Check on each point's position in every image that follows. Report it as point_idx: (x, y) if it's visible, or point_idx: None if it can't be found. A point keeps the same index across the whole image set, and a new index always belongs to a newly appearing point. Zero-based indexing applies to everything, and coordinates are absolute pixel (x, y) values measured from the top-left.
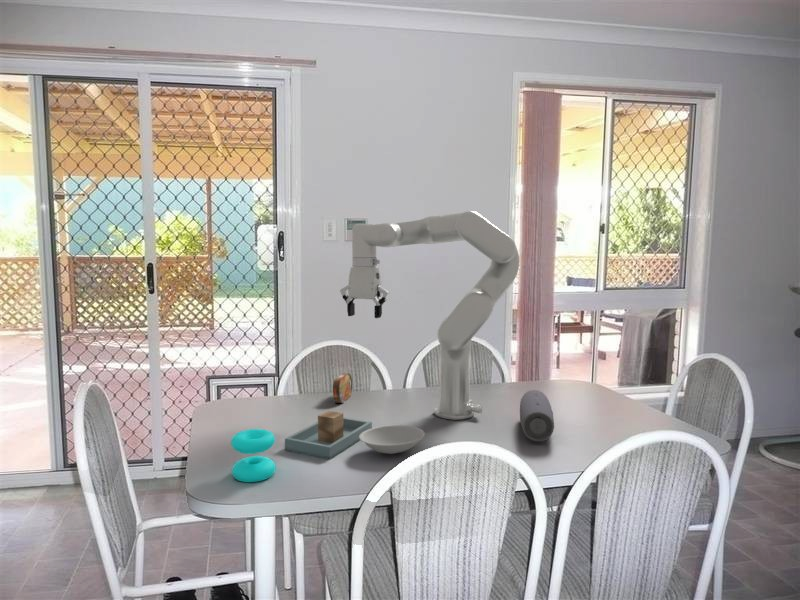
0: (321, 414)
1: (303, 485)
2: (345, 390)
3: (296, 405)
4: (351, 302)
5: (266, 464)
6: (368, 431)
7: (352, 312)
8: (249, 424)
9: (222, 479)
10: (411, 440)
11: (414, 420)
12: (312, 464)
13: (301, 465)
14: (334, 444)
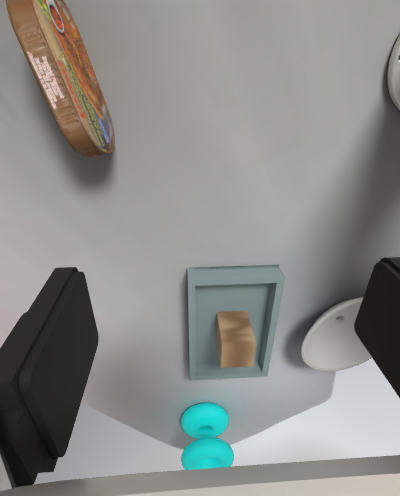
0: (223, 362)
1: (267, 409)
2: (80, 72)
3: (20, 193)
4: (29, 455)
5: (223, 428)
6: (308, 338)
7: (83, 326)
8: None
9: (181, 429)
10: None
11: (342, 161)
12: (248, 377)
13: (237, 383)
14: (268, 368)
